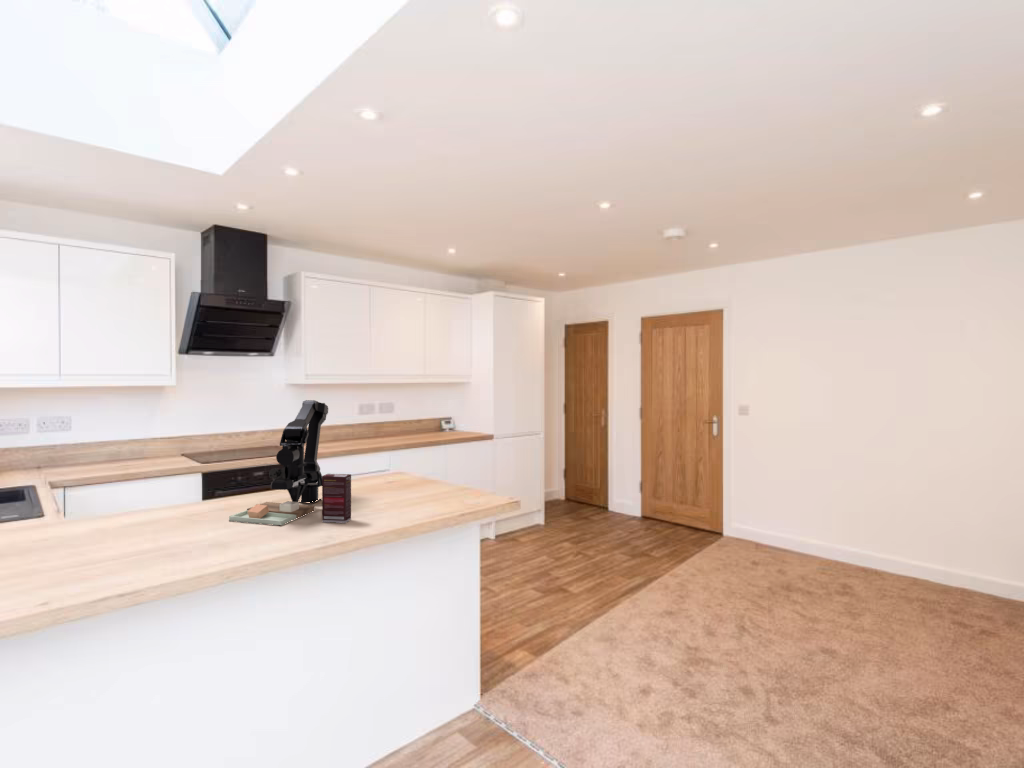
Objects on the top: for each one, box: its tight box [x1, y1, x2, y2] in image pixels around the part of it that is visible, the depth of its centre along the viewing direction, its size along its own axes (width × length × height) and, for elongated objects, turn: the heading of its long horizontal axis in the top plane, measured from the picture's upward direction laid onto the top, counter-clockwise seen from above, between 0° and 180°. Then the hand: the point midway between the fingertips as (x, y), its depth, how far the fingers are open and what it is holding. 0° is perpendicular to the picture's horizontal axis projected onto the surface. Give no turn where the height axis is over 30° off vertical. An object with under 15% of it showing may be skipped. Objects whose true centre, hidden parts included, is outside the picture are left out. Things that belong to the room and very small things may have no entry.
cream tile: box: [279, 500, 300, 512], centre depth 181 cm, size 4×4×2 cm
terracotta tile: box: [247, 503, 269, 519], centre depth 178 cm, size 4×4×2 cm
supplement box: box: [321, 473, 352, 524], centre depth 176 cm, size 9×5×16 cm, turn 84°
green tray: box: [228, 509, 297, 526], centre depth 176 cm, size 8×20×2 cm, turn 77°
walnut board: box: [246, 501, 315, 519], centre depth 185 cm, size 10×20×2 cm, turn 77°
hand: (295, 504), depth 184 cm, fingers closed
